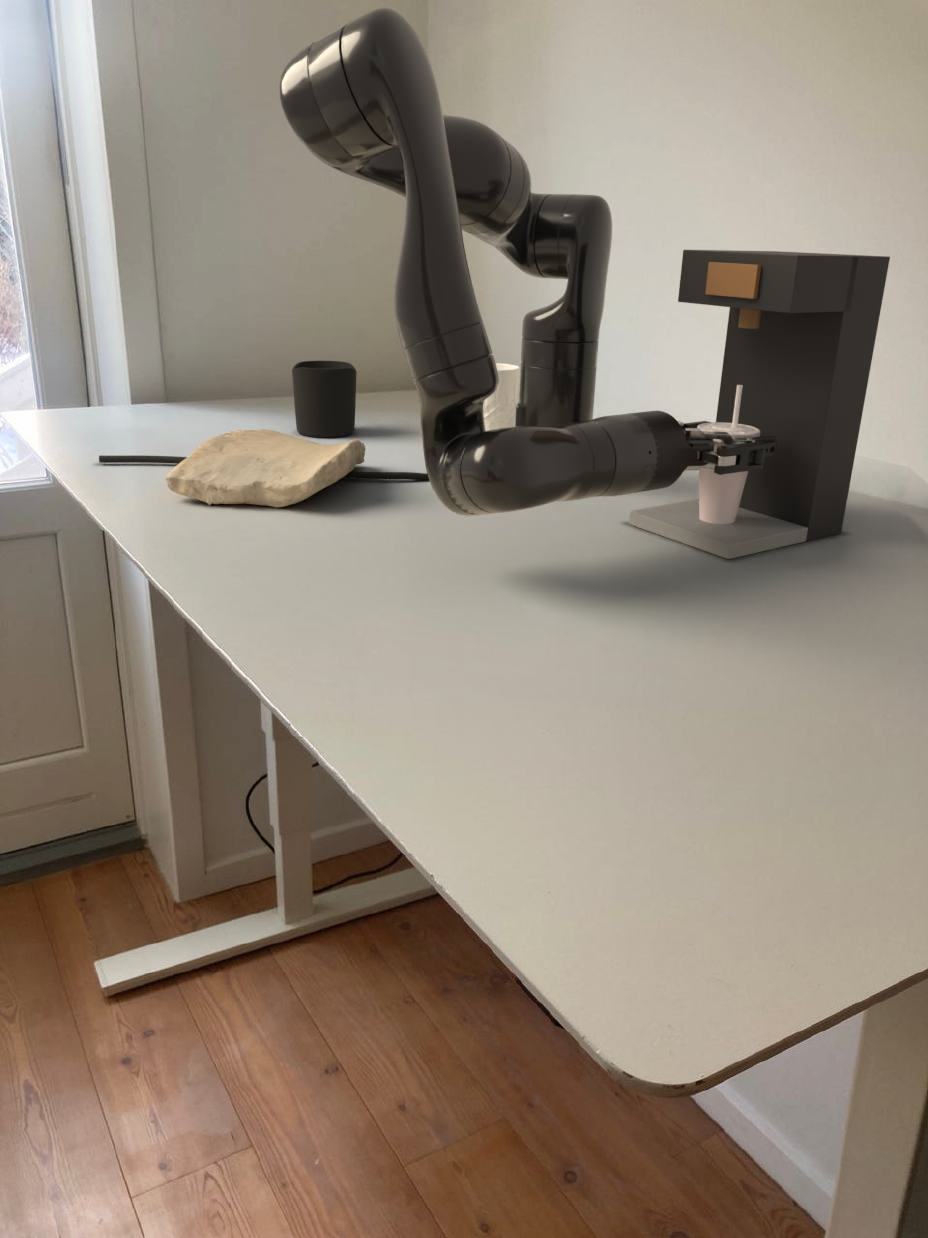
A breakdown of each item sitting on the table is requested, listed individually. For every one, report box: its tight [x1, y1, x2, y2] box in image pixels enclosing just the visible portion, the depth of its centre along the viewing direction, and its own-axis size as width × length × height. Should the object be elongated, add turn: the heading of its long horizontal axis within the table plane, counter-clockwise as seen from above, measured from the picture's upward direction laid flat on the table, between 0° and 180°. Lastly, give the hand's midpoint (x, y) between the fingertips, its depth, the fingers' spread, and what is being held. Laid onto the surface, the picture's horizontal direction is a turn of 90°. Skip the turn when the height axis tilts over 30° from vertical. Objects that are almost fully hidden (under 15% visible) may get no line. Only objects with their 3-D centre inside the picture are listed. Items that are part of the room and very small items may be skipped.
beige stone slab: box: [165, 428, 366, 508], centre depth 118 cm, size 24×8×20 cm
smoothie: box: [697, 385, 760, 524], centre depth 102 cm, size 6×6×14 cm
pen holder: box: [291, 360, 357, 439], centre depth 147 cm, size 9×9×10 cm
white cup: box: [483, 362, 521, 431], centre depth 151 cm, size 8×8×10 cm
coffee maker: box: [628, 249, 891, 560], centre depth 102 cm, size 18×14×28 cm
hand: (740, 438), depth 103 cm, fingers open, 8 cm apart
